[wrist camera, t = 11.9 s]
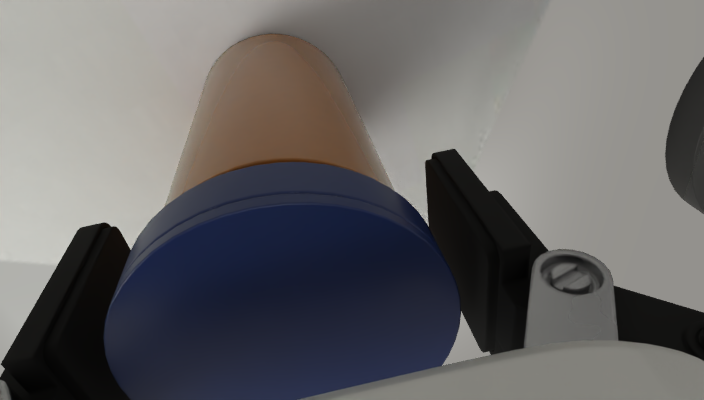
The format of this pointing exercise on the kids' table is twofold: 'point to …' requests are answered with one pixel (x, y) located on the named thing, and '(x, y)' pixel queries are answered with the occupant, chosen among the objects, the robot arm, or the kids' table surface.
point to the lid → (280, 289)
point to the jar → (274, 115)
